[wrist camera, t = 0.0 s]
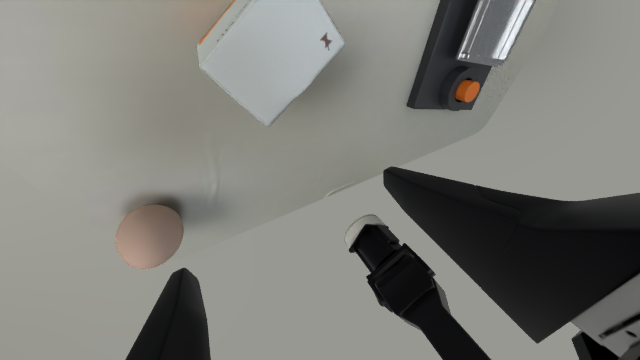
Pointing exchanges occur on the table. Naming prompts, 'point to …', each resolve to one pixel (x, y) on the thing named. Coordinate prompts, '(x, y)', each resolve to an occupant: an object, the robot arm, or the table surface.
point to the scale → (446, 61)
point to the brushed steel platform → (493, 31)
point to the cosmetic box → (268, 52)
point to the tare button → (467, 90)
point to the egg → (149, 236)
